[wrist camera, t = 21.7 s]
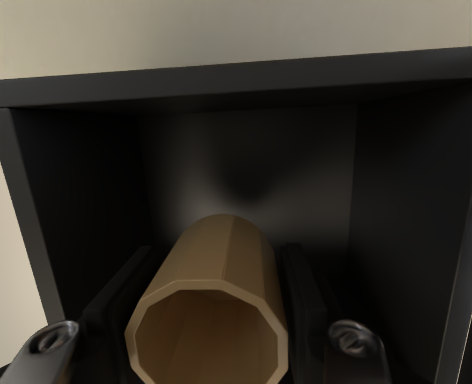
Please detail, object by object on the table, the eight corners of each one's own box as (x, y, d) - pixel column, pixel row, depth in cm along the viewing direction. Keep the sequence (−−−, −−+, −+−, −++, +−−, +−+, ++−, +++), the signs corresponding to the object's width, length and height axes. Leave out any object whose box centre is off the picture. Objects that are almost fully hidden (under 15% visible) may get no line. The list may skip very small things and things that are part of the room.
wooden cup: (181, 301, 13) (138, 410, 8) (170, 215, 11) (112, 281, 7) (273, 301, 12) (288, 414, 8) (272, 212, 11) (288, 279, 6)
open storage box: (155, 280, 21) (73, 414, 11) (128, 104, 17) (-25, 80, 8) (352, 278, 19) (447, 424, 10) (366, 90, 16) (533, 40, 7)
